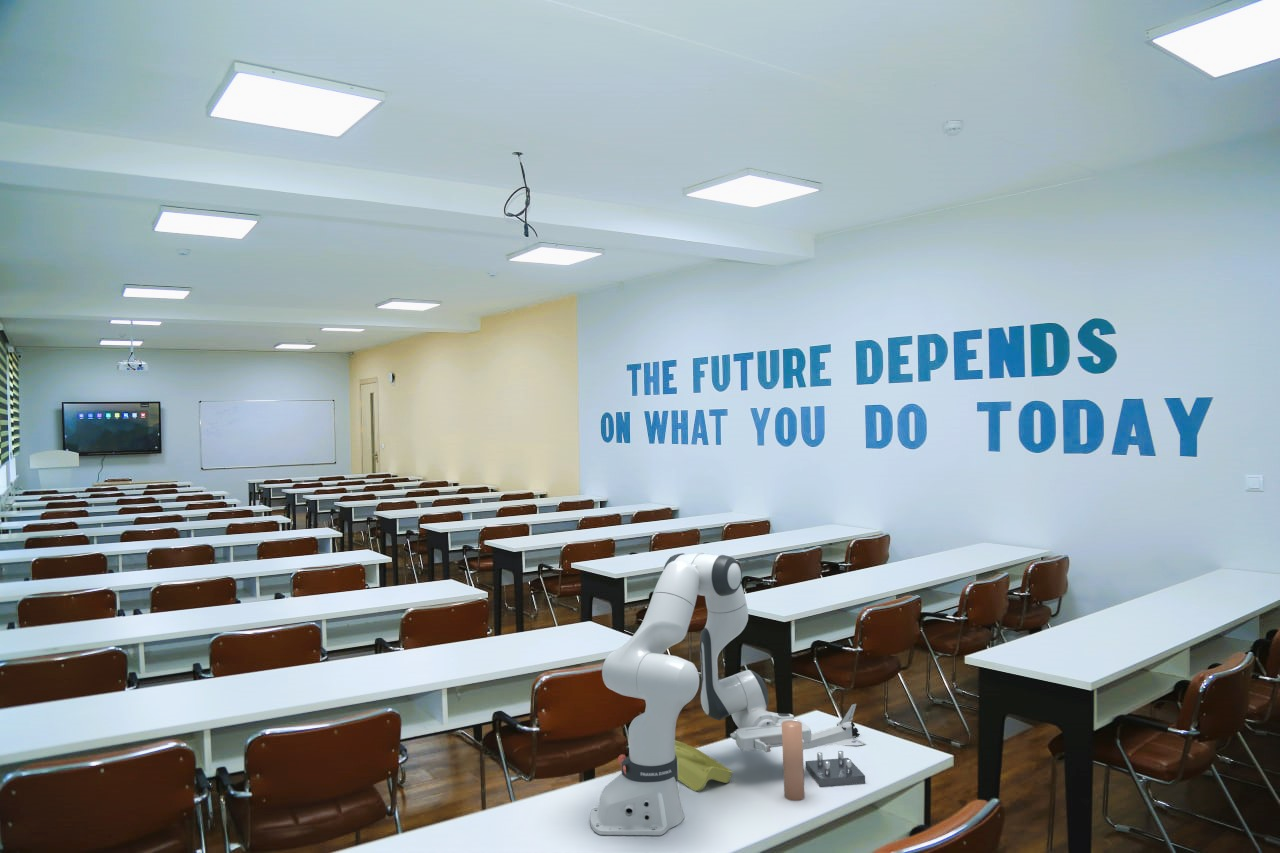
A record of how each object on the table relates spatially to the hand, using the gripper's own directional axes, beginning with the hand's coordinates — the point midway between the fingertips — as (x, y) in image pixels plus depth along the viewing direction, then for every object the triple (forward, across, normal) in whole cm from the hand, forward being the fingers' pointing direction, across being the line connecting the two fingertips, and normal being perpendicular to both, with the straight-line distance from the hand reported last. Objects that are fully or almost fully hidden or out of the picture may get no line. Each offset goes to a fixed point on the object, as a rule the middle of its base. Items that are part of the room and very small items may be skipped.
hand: (785, 746), depth 203 cm
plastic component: (-16, -19, +11) cm, 27 cm away
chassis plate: (-4, +15, +11) cm, 19 cm away
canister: (+4, 0, +11) cm, 12 cm away
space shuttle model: (-26, +24, +11) cm, 37 cm away
